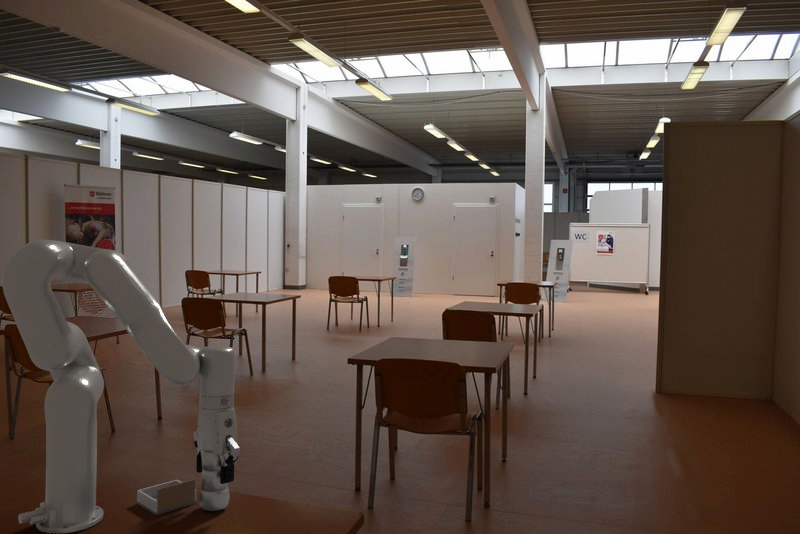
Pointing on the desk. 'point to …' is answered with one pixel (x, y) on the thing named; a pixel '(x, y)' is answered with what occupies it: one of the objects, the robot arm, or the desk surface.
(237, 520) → the desk surface
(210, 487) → the plastic bottle
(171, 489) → the drawer
